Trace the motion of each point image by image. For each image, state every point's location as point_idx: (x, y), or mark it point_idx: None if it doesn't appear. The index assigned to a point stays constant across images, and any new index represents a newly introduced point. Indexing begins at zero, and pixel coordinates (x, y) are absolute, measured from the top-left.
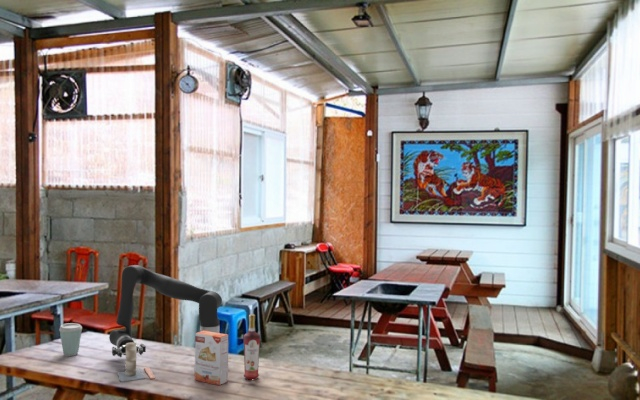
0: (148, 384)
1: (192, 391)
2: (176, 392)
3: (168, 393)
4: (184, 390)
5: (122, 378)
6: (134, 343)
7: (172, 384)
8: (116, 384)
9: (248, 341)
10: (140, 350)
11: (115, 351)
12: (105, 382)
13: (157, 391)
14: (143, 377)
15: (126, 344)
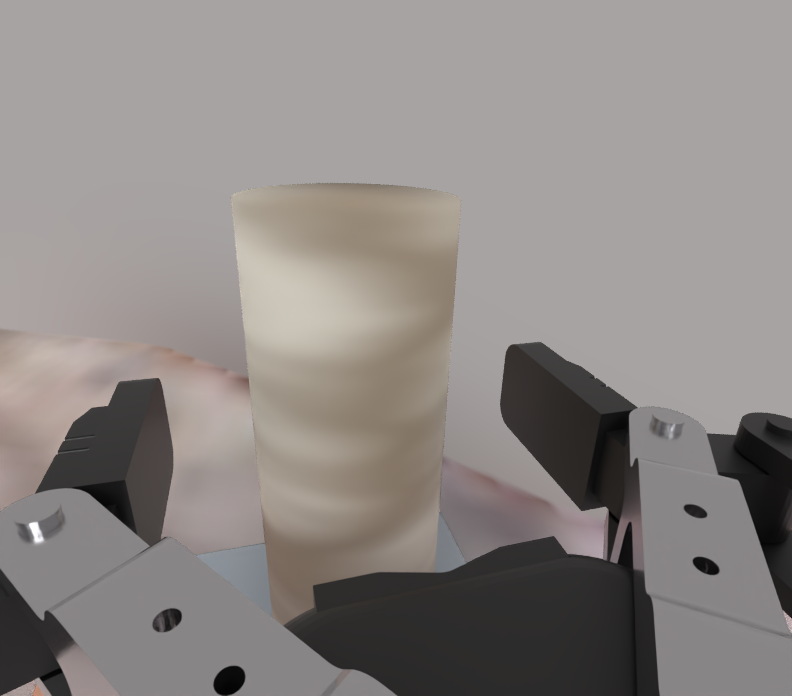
0: (205, 448)
1: (7, 350)
2: (94, 351)
3: (140, 349)
4: (36, 361)
5: (440, 568)
6: (276, 193)
7: (36, 426)
8: (463, 482)
9: None
10: (154, 379)
11: (712, 434)
12: (591, 537)
13: (186, 369)
14: (208, 557)
15: (436, 191)
